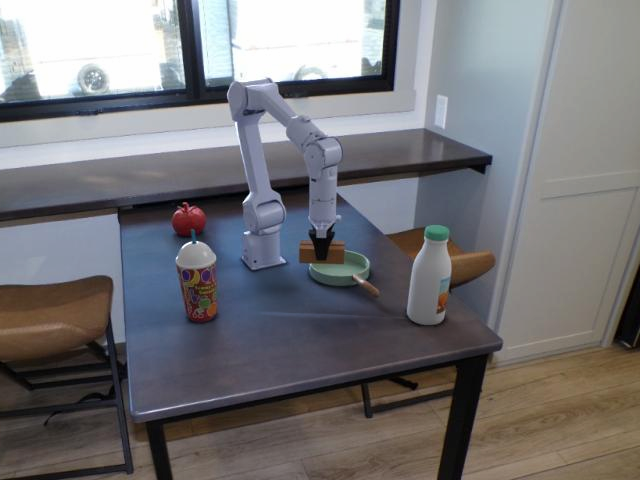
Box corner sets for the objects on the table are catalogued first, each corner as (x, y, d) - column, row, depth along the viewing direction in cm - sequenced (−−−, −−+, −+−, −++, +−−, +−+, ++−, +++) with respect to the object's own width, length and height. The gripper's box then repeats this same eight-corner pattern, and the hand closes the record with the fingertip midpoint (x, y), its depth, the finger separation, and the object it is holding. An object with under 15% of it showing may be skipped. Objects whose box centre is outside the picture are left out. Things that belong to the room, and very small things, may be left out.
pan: (326, 292, 120) (327, 281, 119) (299, 267, 132) (299, 256, 131) (380, 279, 125) (381, 268, 124) (349, 256, 137) (350, 245, 135)
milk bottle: (423, 330, 106) (436, 239, 96) (398, 313, 112) (408, 226, 102) (452, 320, 109) (467, 231, 99) (426, 303, 115) (438, 218, 105)
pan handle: (350, 280, 122) (350, 273, 121) (357, 278, 123) (357, 271, 122) (374, 299, 114) (374, 292, 113) (381, 297, 114) (381, 290, 114)
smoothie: (205, 329, 108) (195, 241, 98) (175, 319, 112) (162, 233, 102) (229, 311, 114) (222, 226, 104) (199, 302, 118) (190, 219, 108)
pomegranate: (213, 233, 153) (210, 203, 148) (182, 241, 148) (178, 211, 144) (197, 223, 160) (194, 194, 155) (167, 231, 155) (163, 201, 151)
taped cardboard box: (299, 263, 117) (299, 248, 115) (300, 254, 120) (300, 240, 119) (344, 264, 115) (344, 249, 114) (343, 255, 119) (344, 240, 118)
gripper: (341, 209, 104) (339, 269, 111) (341, 186, 116) (339, 242, 123) (306, 208, 105) (306, 269, 111) (310, 186, 117) (309, 241, 124)
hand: (321, 255), depth 117 cm, fingers closed on taped cardboard box, 4 cm apart
